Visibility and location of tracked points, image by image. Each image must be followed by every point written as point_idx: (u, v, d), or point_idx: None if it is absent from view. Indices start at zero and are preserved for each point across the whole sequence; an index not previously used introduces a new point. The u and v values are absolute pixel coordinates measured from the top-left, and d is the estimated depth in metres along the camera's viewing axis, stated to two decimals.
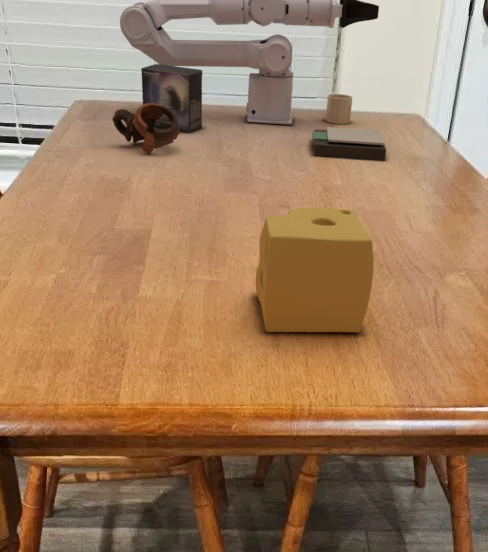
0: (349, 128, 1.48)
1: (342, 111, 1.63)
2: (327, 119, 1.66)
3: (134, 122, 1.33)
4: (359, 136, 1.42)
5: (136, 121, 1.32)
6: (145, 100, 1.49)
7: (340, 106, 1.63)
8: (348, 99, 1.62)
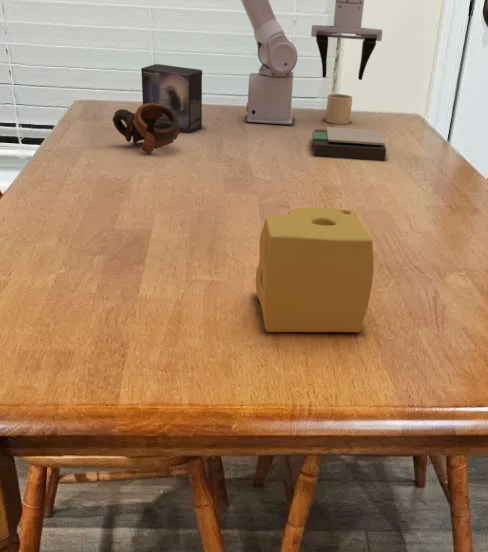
0: (349, 128, 1.48)
1: (342, 111, 1.63)
2: (327, 119, 1.66)
3: (134, 122, 1.33)
4: (359, 136, 1.42)
5: (136, 121, 1.32)
6: (145, 100, 1.49)
7: (340, 106, 1.63)
8: (348, 99, 1.62)
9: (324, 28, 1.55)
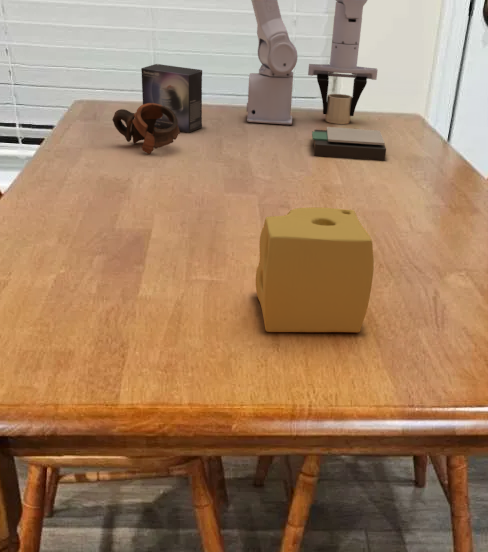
0: (349, 128, 1.48)
1: (342, 111, 1.63)
2: (327, 119, 1.66)
3: (134, 122, 1.33)
4: (359, 136, 1.42)
5: (136, 121, 1.32)
6: (145, 100, 1.49)
7: (339, 106, 1.63)
8: (348, 99, 1.62)
9: (321, 67, 1.59)
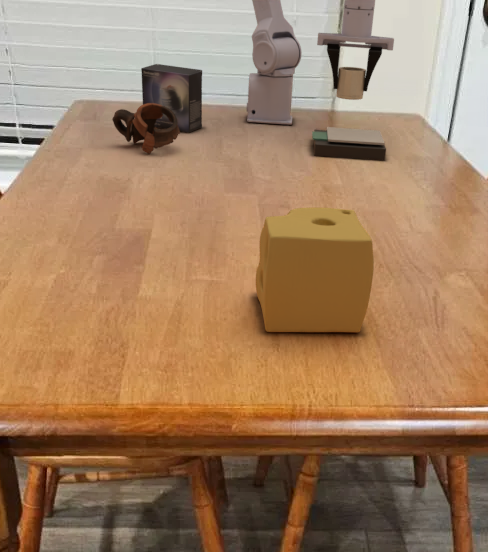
0: (349, 128, 1.48)
1: (354, 85, 1.48)
2: (337, 94, 1.50)
3: (134, 122, 1.33)
4: (359, 136, 1.42)
5: (136, 121, 1.32)
6: (145, 100, 1.49)
7: (351, 80, 1.47)
8: (361, 72, 1.47)
9: (331, 36, 1.44)
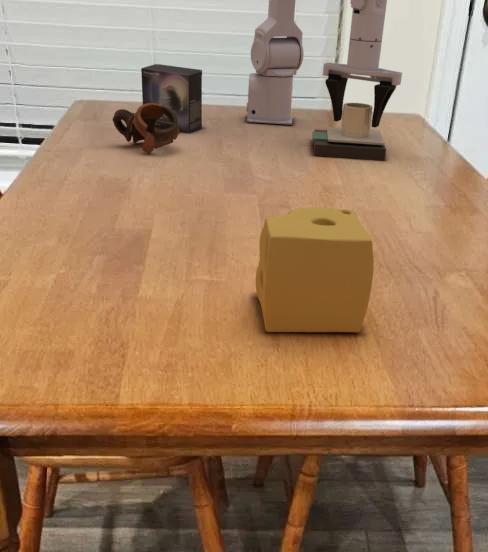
0: None
1: (354, 122, 1.40)
2: (341, 131, 1.43)
3: (134, 122, 1.33)
4: None
5: (136, 121, 1.32)
6: (145, 100, 1.49)
7: (352, 117, 1.40)
8: (362, 109, 1.39)
9: (335, 67, 1.38)
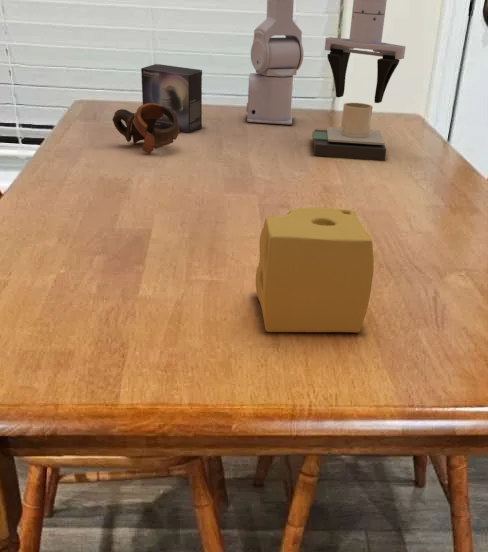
0: None
1: (354, 122, 1.40)
2: (341, 131, 1.43)
3: (134, 122, 1.33)
4: None
5: (136, 121, 1.32)
6: (145, 100, 1.49)
7: (352, 117, 1.40)
8: (362, 109, 1.39)
9: (337, 41, 1.35)
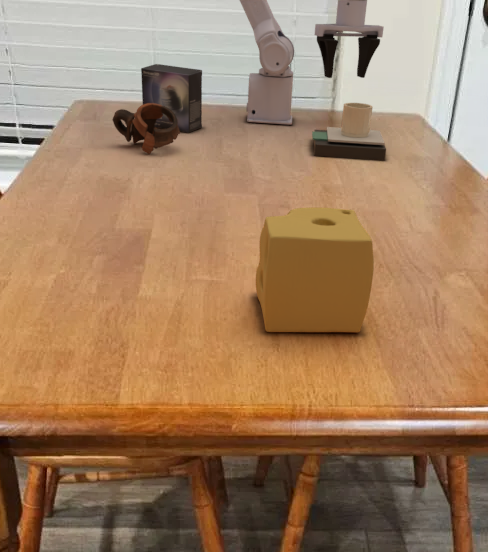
0: None
1: (354, 122, 1.40)
2: (341, 131, 1.43)
3: (134, 122, 1.33)
4: None
5: (136, 121, 1.32)
6: (145, 100, 1.49)
7: (352, 117, 1.40)
8: (362, 109, 1.39)
9: (332, 27, 1.49)
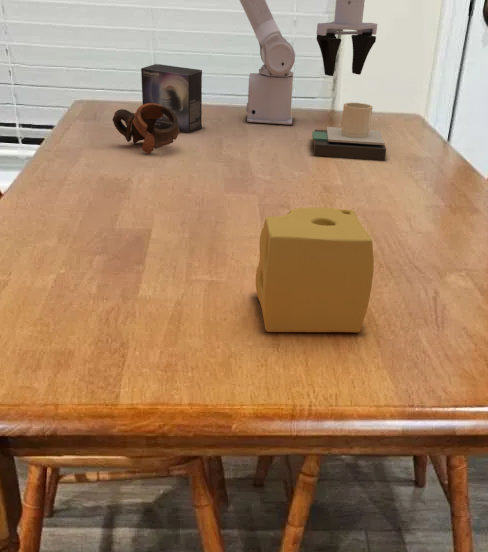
0: None
1: (354, 122, 1.40)
2: (341, 131, 1.43)
3: (134, 122, 1.33)
4: None
5: (136, 121, 1.32)
6: (145, 100, 1.49)
7: (352, 117, 1.40)
8: (362, 109, 1.39)
9: (335, 26, 1.51)
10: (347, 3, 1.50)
